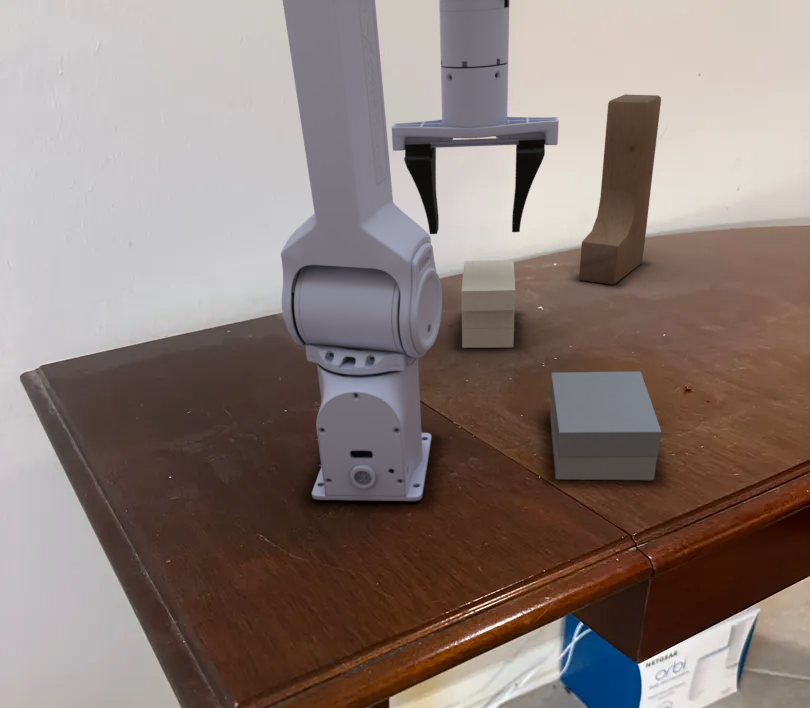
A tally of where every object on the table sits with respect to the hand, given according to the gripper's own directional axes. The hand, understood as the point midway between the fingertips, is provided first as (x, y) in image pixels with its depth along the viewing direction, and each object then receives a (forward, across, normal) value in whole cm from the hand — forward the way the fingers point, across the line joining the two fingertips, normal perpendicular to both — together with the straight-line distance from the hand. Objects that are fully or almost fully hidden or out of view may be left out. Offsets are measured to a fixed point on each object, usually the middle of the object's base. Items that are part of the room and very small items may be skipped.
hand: (474, 230), depth 77 cm
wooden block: (+10, -15, -19) cm, 27 cm away
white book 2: (+10, -1, -1) cm, 10 cm away
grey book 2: (+10, -10, +23) cm, 27 cm away
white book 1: (+8, -1, -1) cm, 8 cm away
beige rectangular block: (+6, -1, 0) cm, 6 cm away
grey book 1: (+8, -10, +23) cm, 27 cm away
